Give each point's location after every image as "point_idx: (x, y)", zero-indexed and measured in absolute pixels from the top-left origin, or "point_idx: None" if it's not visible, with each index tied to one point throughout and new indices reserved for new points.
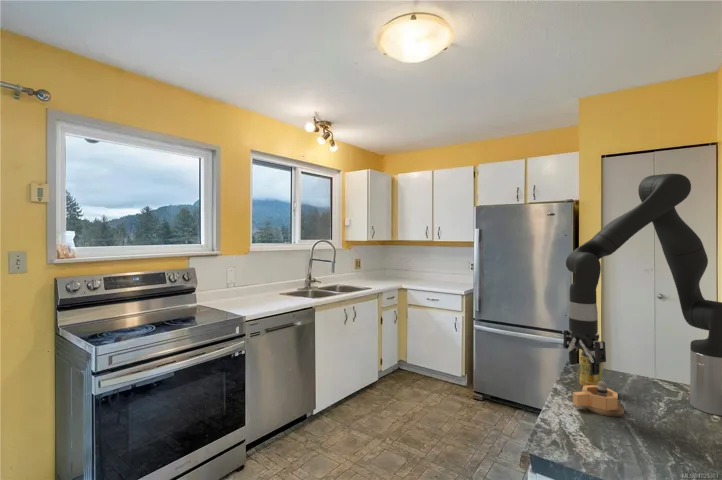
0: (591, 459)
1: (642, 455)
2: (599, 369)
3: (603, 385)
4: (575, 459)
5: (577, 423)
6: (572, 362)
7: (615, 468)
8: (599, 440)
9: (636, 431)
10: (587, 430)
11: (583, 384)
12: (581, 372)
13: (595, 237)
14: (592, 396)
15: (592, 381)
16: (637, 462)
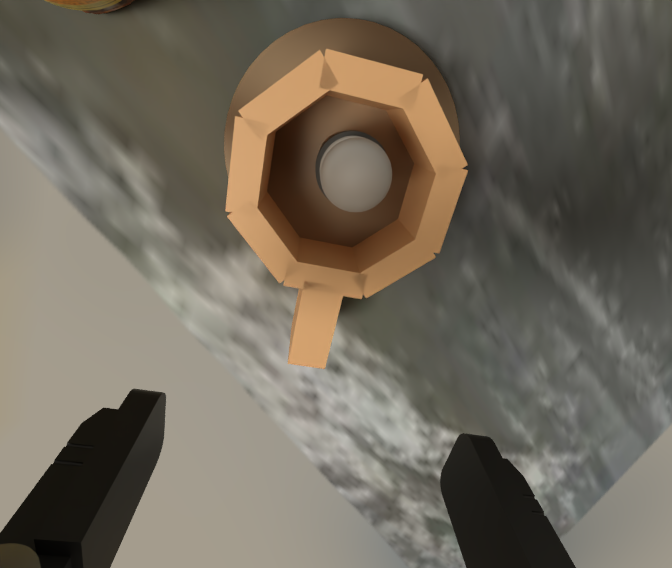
0: None
1: (626, 375)
2: (538, 502)
3: (382, 197)
4: None
5: (395, 397)
6: (154, 457)
7: (593, 484)
8: (503, 418)
9: (559, 238)
10: (445, 404)
11: (74, 6)
12: None
13: None
14: (367, 293)
15: None
16: (626, 418)
